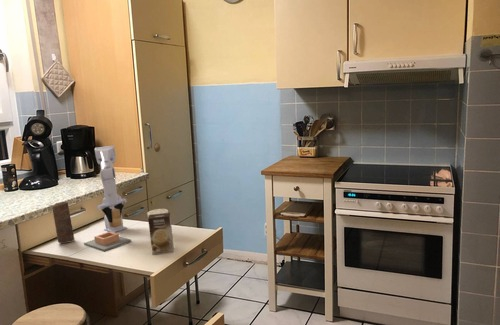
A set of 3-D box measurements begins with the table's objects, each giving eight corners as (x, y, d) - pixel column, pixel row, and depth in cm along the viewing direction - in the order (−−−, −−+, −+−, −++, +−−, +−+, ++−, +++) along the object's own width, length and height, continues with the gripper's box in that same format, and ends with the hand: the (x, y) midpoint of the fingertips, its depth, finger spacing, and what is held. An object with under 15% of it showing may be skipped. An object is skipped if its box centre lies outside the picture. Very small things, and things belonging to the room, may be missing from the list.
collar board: (84, 245, 196) (83, 236, 195) (110, 235, 206) (109, 228, 206) (104, 251, 184) (103, 243, 183) (131, 241, 194) (130, 233, 194)
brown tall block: (68, 245, 198) (61, 204, 195) (54, 245, 199) (47, 205, 196) (77, 239, 205) (71, 200, 202) (64, 239, 207) (58, 201, 204)
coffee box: (151, 255, 174) (147, 218, 172) (153, 250, 180) (148, 214, 178) (173, 252, 175) (169, 216, 173) (174, 247, 181) (170, 212, 179)
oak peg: (109, 226, 198) (107, 210, 197) (117, 224, 201) (114, 208, 200) (114, 227, 195) (112, 211, 194) (121, 225, 198) (119, 209, 197)
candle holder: (173, 231, 204) (170, 208, 202) (167, 238, 194) (164, 213, 193) (154, 232, 205) (151, 209, 203) (147, 239, 195) (144, 215, 194)
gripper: (101, 197, 188) (105, 226, 190) (128, 190, 198) (132, 217, 201) (93, 196, 192) (97, 224, 194) (120, 189, 203) (124, 215, 205)
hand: (114, 220), depth 198 cm, fingers closed on oak peg, 4 cm apart
